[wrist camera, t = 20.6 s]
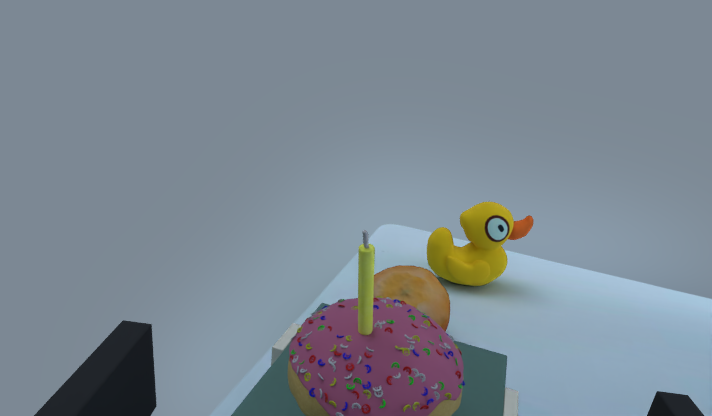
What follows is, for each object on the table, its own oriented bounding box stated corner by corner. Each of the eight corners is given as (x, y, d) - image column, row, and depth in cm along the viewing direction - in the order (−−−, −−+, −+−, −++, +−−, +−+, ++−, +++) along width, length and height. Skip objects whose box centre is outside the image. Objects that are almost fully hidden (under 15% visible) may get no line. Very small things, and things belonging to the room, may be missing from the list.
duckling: (508, 274, 59) (527, 199, 55) (524, 297, 54) (546, 216, 50) (418, 267, 58) (431, 190, 54) (425, 290, 53) (441, 207, 49)
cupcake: (380, 553, 19) (428, 293, 15) (245, 432, 24) (252, 210, 20) (476, 432, 25) (528, 227, 21) (354, 356, 30) (377, 176, 26)
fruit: (451, 304, 48) (460, 261, 42) (436, 380, 43) (445, 345, 37) (373, 286, 49) (371, 242, 43) (351, 358, 45) (346, 320, 39)
